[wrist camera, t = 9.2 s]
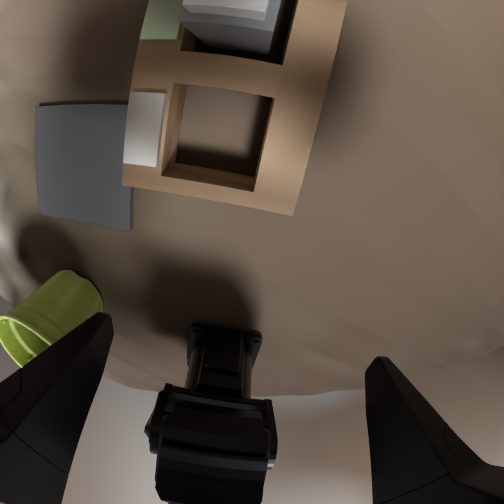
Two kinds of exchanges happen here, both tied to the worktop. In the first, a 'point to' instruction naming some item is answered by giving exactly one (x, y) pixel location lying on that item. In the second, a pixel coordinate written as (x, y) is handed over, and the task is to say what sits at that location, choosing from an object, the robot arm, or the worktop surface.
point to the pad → (83, 164)
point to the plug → (232, 23)
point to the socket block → (238, 79)
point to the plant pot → (48, 315)
